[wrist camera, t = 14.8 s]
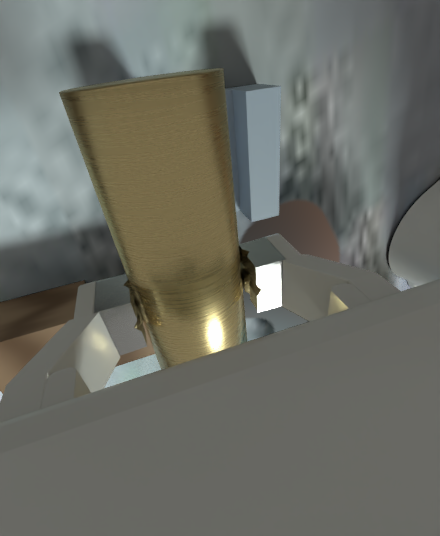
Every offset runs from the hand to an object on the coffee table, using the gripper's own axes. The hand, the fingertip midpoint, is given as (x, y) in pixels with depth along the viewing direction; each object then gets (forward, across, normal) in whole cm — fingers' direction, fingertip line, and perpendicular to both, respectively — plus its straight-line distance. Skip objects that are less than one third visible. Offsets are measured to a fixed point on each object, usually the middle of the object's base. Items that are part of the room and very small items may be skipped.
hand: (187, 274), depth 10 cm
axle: (+2, 0, +1) cm, 2 cm away
